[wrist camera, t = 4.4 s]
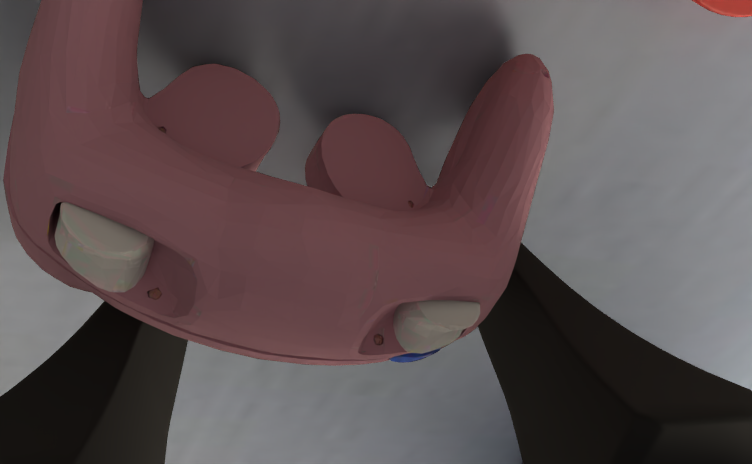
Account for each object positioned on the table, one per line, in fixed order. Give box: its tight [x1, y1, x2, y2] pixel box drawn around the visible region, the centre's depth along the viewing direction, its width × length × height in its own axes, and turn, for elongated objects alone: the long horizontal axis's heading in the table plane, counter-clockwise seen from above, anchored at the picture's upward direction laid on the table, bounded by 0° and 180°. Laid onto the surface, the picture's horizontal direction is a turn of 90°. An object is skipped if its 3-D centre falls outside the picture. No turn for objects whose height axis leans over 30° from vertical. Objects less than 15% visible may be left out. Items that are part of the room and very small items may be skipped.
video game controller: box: [3, 0, 554, 366], centre depth 12 cm, size 10×5×7 cm, turn 66°
